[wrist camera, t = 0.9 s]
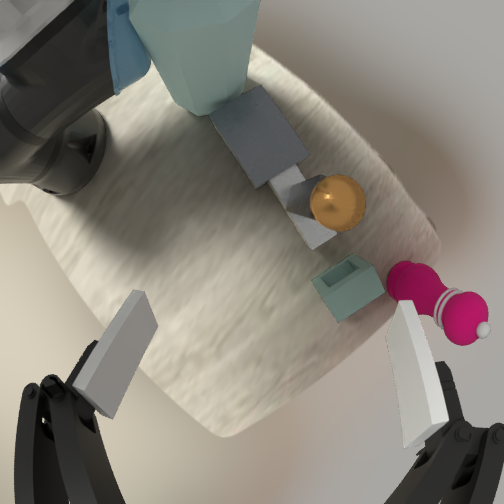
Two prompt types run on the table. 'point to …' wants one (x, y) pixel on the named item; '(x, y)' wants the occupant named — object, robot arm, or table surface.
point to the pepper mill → (440, 302)
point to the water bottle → (198, 47)
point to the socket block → (348, 286)
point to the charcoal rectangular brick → (258, 135)
